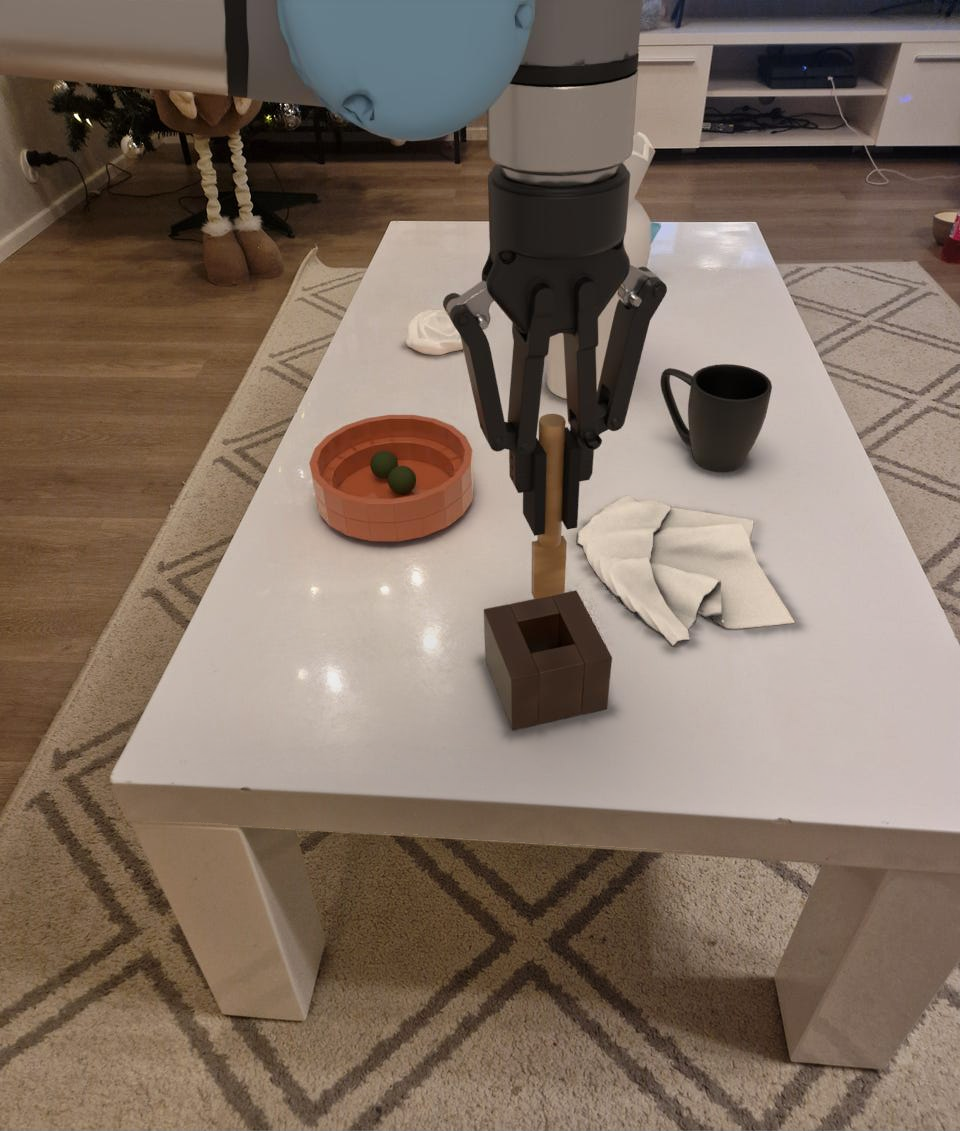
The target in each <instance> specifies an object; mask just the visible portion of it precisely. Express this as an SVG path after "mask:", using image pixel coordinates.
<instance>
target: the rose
mask: <svg viewBox="0 0 960 1131" xmlns="http://www.w3.org/2000/svg"><path fill="white" fill-rule="evenodd" d="M406 332H407V337H406V339H405V344H406V346H407V347H408V348H411V349H412V350H414V351H416V352H419V353H421V354H424V355H431V356H432V355H433V356H442V355H446V354H449V353H452V352H456V351H463V346H462V341H461V337H460V334H459V332H458V331H457V329H456V328H455V327H454V325H453V323H452V321H451V320H450V318H449V316H448V314H447V313H446V311H445V309H437V310H436V309H426V310H423V311H421V312H419V313H417V314H415V316H414V317H413V318H412V319H411V321H410V322H409V323H408V326H407V329H406Z"/></svg>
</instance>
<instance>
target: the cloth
mask: <svg viewBox="0 0 960 1131" xmlns="http://www.w3.org/2000/svg"><path fill="white" fill-rule="evenodd" d="M754 523H755V521H754V520H752V519H748V518H743V517H742V518H741V517H736V516H732V515H731V516H730V515H725V514H718V513H712V512H705V511H701V510H700V511H699V510H693V509H692V510H691V509H683V508H678V507H672V506H671V505H669V504H667V503H665V502H661V501H659V500H652V499H649V500H641V501H640V500H639V501H638V500H637V499H636V498H635V497H634V496H633V495H625V496H624V495H623V496H622V497H620V498H619V499H618V500H615V501H614V502H612V503H610V504H609V505H607V506H605V508H603V509H602V510H601V511H600V512H599V513H596V514H595V515H594V516H592V517H591V519H590V520H589V522H587V524H585V525H584V526H583V527H582V528H581V529H580V530H578V532H576V539H575V540H576V541H575V543H576V544H578V545H581V546H582V548H583V551H584V554H585V556H586V559H587V561H588V563H589V566H590V567H591V569H592V570H593V571H594V572H595V574H596V576H597V578H598V579H599V580H600V581H601V583H603V584H605V585H606V587H607V588H608V590H609V591H610V592H611V594H613V595H614V596H615V597H617V598H618V599H620V600H621V602H622V603H623V605H624V606H625V607H626V608H627V609H628V610H629V611H630V612H632V613H633V614H635V615H637V616H639V617H640V618H641V619H642V620H643V621H644V623H645V624H646V625H648V626H649V627H650V628H651V629H652V630H654V631H656V632H658V633H660V634H662V635H663V636H664V638H666V640H667V641H668V642H669V644H671V645H672V646H674V645H675V644H677V643H678V642H679V641H684V640H685V641H690V634H689V630H690V628H691V627H692V625H693V624H694V623H695V622H696V619H697V614H699V615H701V616H703V617H704V618H708V619H711V620H713V621H714V622H715V623H716V624H718V625H720V626H722V627H723V628H725V629H733V630H739V629H752V628H761V627H769V626H771V627H772V626H779V625H780V626H781V625H786V624H787V625H788V624H795V620H794V619H793V617H792V615H791V614H790V612H789V610H788V609H787V607H786V605H785V604H784V603H783V601H782V598H780V596H779V594H778V593H777V591H776V589H775V588H774V587H773V585H772V583H771V581H770V580H769V578H768V577H767V576H766V574H765V572H764V570H763V569H762V567H761V566H760V564H759V563H758V561H757V558H756V556H755V552H754V549H753V547H752V544H751V537H752V533H753V529H754Z"/></svg>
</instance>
